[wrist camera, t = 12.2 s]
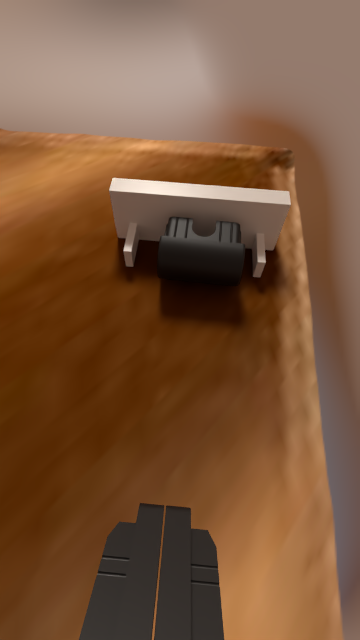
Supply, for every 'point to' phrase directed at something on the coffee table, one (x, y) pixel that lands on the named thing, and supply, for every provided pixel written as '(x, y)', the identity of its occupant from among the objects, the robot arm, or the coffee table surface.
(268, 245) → the white board with feet
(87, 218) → the coffee table surface
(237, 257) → the end cap
